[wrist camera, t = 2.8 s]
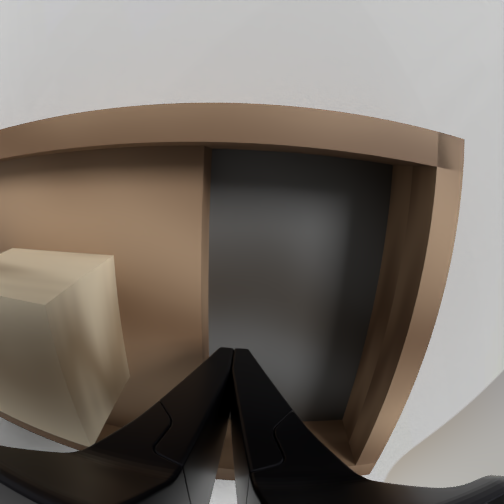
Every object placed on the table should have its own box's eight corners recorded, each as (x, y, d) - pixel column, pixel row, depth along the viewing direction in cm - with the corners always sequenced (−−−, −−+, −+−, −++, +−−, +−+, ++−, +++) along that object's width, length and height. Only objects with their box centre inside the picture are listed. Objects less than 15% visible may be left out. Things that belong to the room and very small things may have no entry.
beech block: (130, 376, 11) (92, 448, 7) (36, 354, 11) (-12, 404, 7) (113, 255, 10) (45, 304, 6) (12, 247, 10) (-57, 281, 6)
